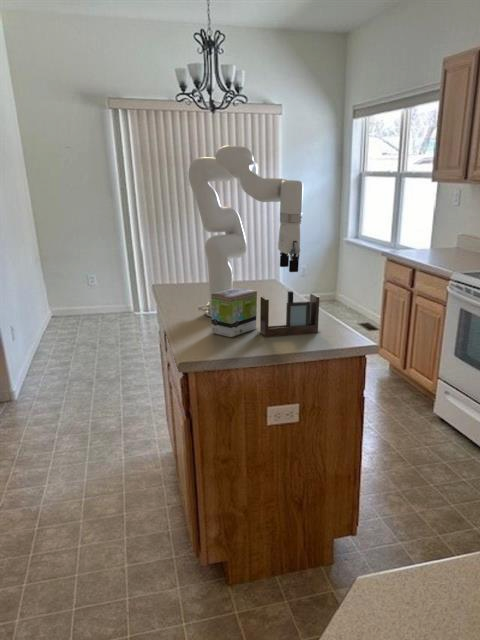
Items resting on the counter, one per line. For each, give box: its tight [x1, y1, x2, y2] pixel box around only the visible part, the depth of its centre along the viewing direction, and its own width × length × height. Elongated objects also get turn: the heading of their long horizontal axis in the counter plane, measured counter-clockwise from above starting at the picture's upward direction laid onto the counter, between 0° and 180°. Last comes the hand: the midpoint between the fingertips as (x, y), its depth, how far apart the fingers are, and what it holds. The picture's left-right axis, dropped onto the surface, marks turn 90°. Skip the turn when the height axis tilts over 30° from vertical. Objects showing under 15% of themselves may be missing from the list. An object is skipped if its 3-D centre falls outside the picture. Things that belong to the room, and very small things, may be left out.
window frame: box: [259, 292, 320, 338], centre depth 195 cm, size 21×6×14 cm, turn 110°
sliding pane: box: [285, 290, 310, 327], centre depth 194 cm, size 9×2×14 cm, turn 110°
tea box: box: [211, 287, 258, 338], centre depth 195 cm, size 15×10×15 cm, turn 148°
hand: (288, 269), depth 188 cm, fingers open, 9 cm apart
